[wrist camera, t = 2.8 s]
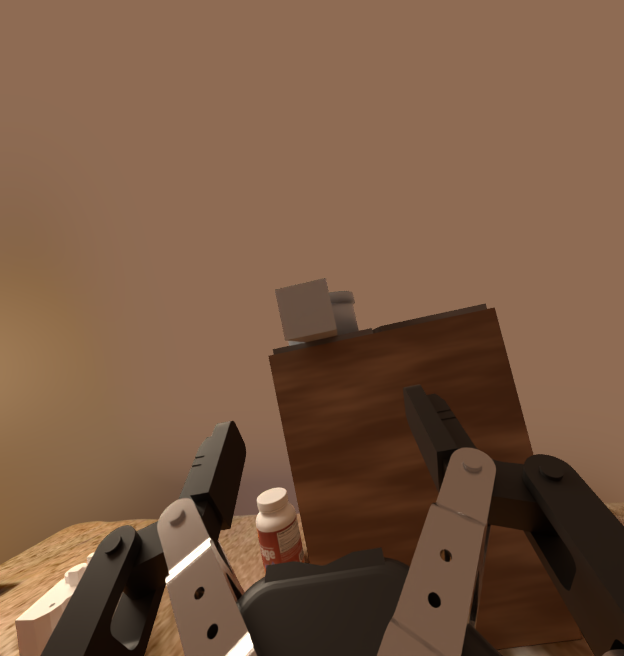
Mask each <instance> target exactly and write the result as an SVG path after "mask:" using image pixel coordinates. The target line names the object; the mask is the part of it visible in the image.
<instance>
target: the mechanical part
mask: <svg viewBox="0 0 624 656" xmlns="http://www.w3.org/2000/svg"><path fill="white" fill-rule="evenodd" d="M94 553H95V552H94ZM94 553H91V554H90V555H89V556H88V557H87V563H88V564H89V562H90V560H91V558H92V556H93V555H94ZM87 563H82V564H79V565H77V566H75V567H73V568H71V569H70V570H69V571H67V572H66V573H65V578H64V579H62V580H61V581H59V582H58V583H57V584H56V585H55V586H54V587H53V588H52V589H50V590H49V591H48V592H47V593H46V594H45V595H44V596H42V597H41V598H40V599H39V600H38V601H37V602H36V603H34V604H33V605H32V606H31V607H30V608H29V609H28V610H26V611H25V612H24V613H23V614H22V615H21V616H20V617H18V618H17V619H16V620H15V623H16V629H17V637H18V645H19V653H20V656H40V655H41V653H42V651H43V650H44V648H45V646H46V644H47V642H48V640H49V638H50V636H51V634H52V632H53V631H54V629H55V627H56V625H57V623H58V621H59V619H60V617H61V615H62V613H63V612H64V610H65V608H66V606H67V604H68V602H69V600H70V598H71V596H72V594H73V593H74V591H75V589H76V587H77V585H78V583H79V581H80V579H81V577H82V575H83V574H84V572H85V570H86V568H87ZM122 593H123V592H122ZM120 598H121V597H120ZM118 603H119V602H118ZM116 608H117V607H116ZM115 610H116V609H115ZM114 613H115V612H114ZM113 615H114V614H113ZM112 618H113V617H112Z"/></svg>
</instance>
